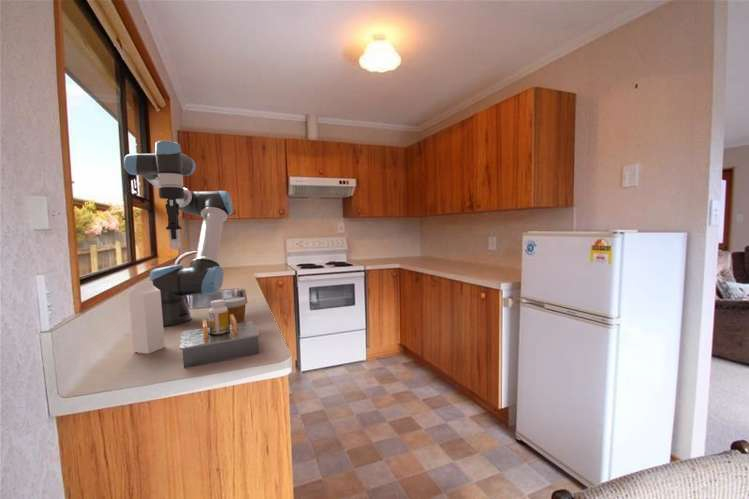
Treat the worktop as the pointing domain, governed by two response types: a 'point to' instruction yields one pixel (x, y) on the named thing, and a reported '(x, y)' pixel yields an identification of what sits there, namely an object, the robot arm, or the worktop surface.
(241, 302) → the disposable coffee cup
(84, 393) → the worktop surface
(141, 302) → the milk
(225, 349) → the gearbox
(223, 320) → the supplement bottle
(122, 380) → the worktop surface
